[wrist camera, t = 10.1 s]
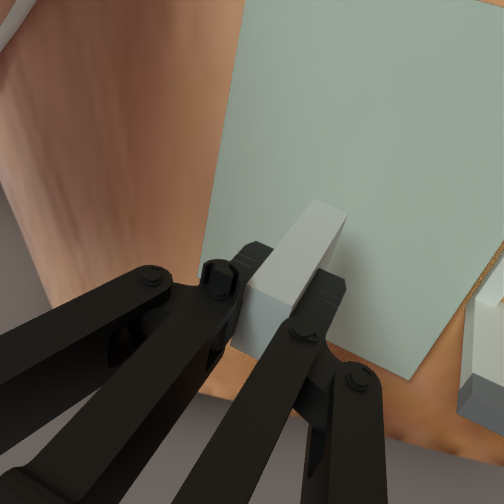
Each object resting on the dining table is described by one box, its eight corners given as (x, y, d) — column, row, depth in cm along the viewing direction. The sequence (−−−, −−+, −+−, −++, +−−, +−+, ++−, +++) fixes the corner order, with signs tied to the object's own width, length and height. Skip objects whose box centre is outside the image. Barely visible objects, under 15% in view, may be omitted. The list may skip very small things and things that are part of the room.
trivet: (265, -58, 19) (256, -60, 18) (628, 41, 15) (635, 44, 15) (204, 269, 29) (197, 277, 28) (411, 368, 26) (409, 380, 25)
